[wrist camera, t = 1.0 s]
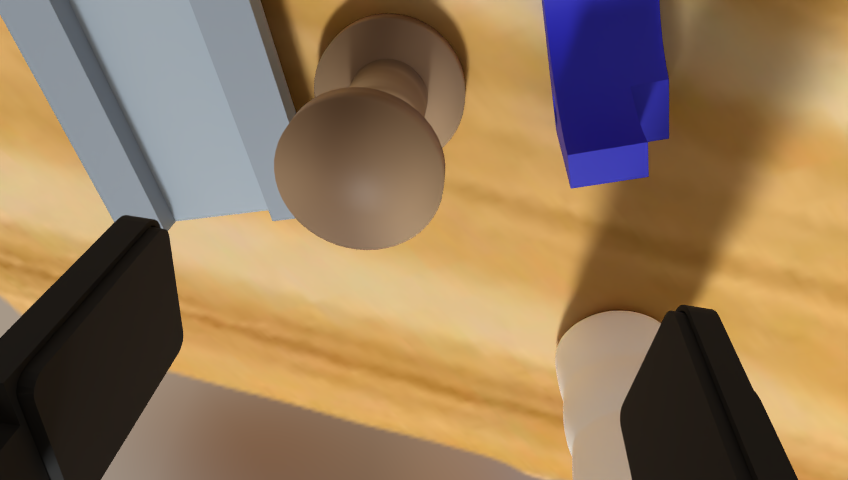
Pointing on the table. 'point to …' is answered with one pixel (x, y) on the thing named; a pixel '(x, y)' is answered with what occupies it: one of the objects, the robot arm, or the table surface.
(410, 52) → the door knob
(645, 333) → the water bottle
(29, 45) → the notched board
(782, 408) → the table surface
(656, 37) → the cable clip
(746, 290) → the table surface
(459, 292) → the table surface
